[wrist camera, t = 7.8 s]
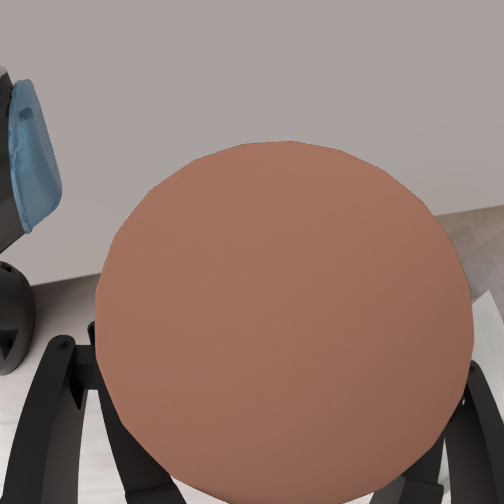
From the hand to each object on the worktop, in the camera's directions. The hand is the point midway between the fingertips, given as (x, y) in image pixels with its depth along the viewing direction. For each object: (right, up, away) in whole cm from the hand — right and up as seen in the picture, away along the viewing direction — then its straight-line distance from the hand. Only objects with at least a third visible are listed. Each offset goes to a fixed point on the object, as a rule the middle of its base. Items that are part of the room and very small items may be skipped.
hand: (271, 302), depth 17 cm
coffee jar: (-1, -6, +6) cm, 9 cm away
